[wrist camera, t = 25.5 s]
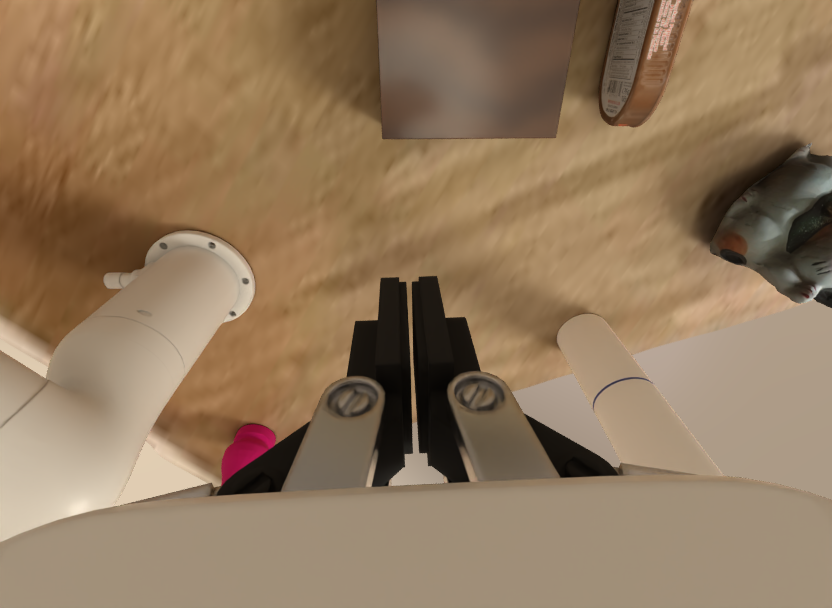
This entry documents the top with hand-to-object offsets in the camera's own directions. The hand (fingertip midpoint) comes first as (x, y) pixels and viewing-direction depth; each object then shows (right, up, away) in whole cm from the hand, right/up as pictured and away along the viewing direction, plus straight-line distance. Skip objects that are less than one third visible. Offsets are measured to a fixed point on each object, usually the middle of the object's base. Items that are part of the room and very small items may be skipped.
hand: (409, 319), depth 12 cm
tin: (+19, +26, +25) cm, 40 cm away
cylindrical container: (+24, -4, +43) cm, 50 cm away
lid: (+5, +23, +18) cm, 29 cm away
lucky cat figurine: (+42, +12, +34) cm, 55 cm away
